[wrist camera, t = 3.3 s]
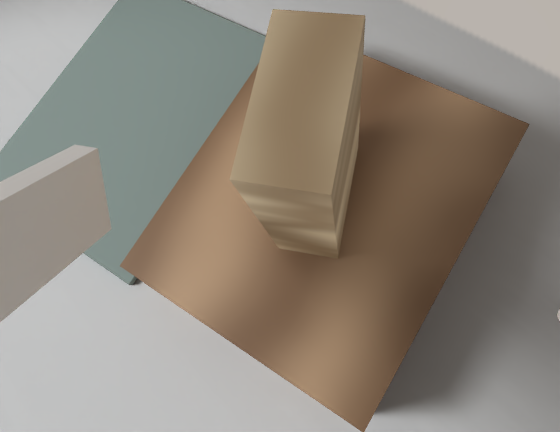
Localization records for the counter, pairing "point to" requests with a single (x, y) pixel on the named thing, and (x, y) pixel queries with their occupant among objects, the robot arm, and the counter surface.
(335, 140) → the birch block
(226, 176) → the walnut block
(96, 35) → the rubber mat
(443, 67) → the counter surface
